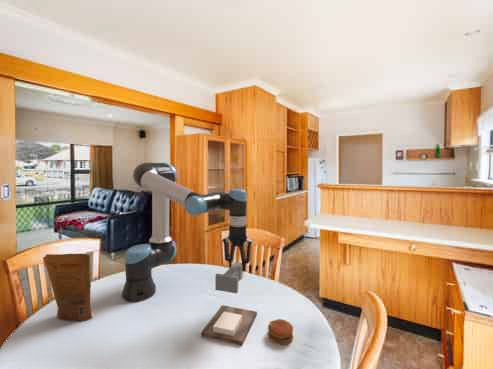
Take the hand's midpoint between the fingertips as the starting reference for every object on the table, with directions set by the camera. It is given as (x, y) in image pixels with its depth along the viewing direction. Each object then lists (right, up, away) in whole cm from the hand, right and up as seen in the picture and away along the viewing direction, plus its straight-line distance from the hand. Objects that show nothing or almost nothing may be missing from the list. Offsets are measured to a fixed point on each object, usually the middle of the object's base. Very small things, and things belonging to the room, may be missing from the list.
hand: (237, 277), depth 109 cm
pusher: (-1, -1, -4) cm, 5 cm away
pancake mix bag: (-68, -15, -6) cm, 70 cm away
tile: (-2, -12, -9) cm, 15 cm away
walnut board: (-2, -15, -11) cm, 19 cm away
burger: (+16, -16, -17) cm, 29 cm away
